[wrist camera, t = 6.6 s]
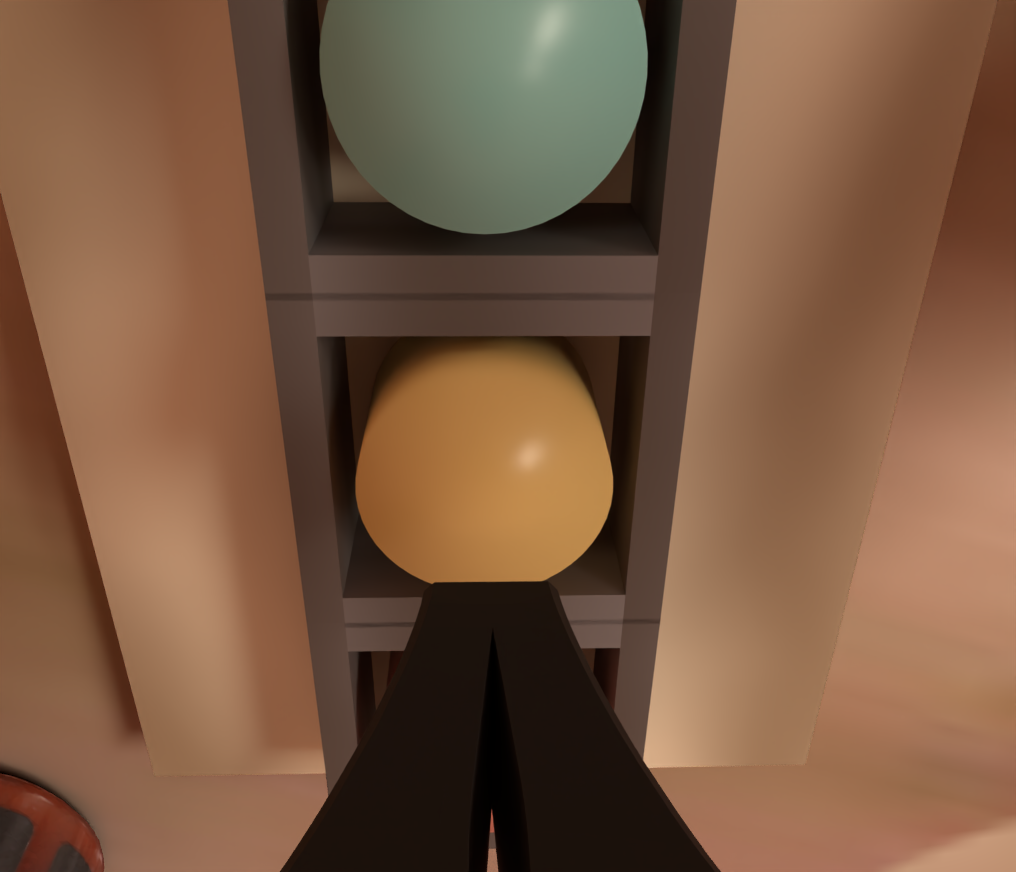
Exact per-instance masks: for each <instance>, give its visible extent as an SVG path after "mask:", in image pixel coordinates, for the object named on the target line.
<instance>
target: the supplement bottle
mask: <svg viewBox="0 0 1016 872" xmlns="http://www.w3.org/2000/svg"><path fill="white" fill-rule="evenodd" d="M0 872H104V858H103V853H102V849H101V846H100V842H99V839H98V838H97V836H96V835H95V832H94V831H93V830H92V828H91V827H90V825H89V824H88V822H87V821H86V820H85V819H84V818H82V817H81V816H80V815H79V814H78V813H77V812H76V811H75V810H74V809H72V808H71V807H70V806H69V805H68V804H67V803H65V802H64V801H63V800H62V799H60V798H58V797H56V796H55V795H53V794H52V793H50V792H48V791H46V790H45V789H43V788H41V787H39V786H37V785H35V784H33V783H31V782H28V781H26V780H24V779H21V778H18V777H14V776H10V775H4V774H1V773H0Z"/></svg>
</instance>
